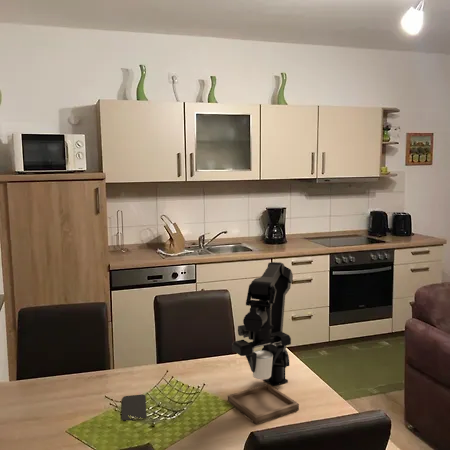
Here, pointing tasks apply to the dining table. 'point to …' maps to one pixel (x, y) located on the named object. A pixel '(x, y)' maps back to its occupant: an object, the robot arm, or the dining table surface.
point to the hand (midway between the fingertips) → (261, 369)
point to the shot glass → (263, 365)
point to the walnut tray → (262, 403)
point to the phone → (133, 406)
